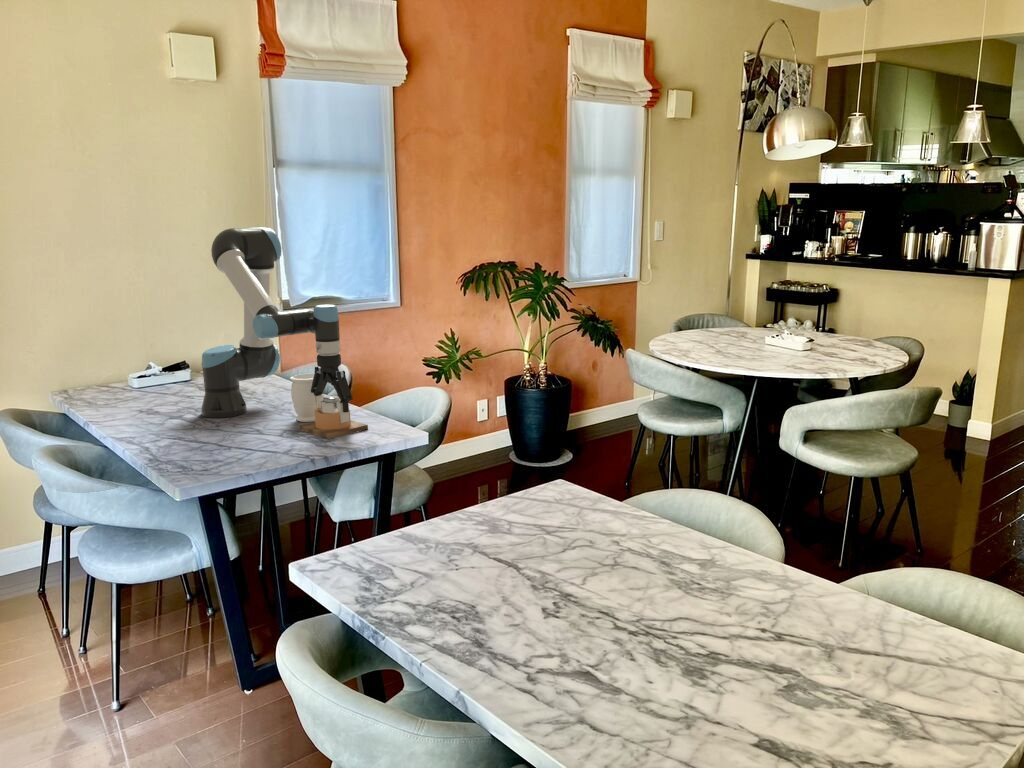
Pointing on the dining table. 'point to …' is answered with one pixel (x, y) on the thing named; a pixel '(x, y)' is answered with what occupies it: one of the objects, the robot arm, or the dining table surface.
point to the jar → (303, 397)
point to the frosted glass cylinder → (330, 404)
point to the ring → (329, 420)
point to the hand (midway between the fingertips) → (332, 418)
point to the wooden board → (333, 432)
